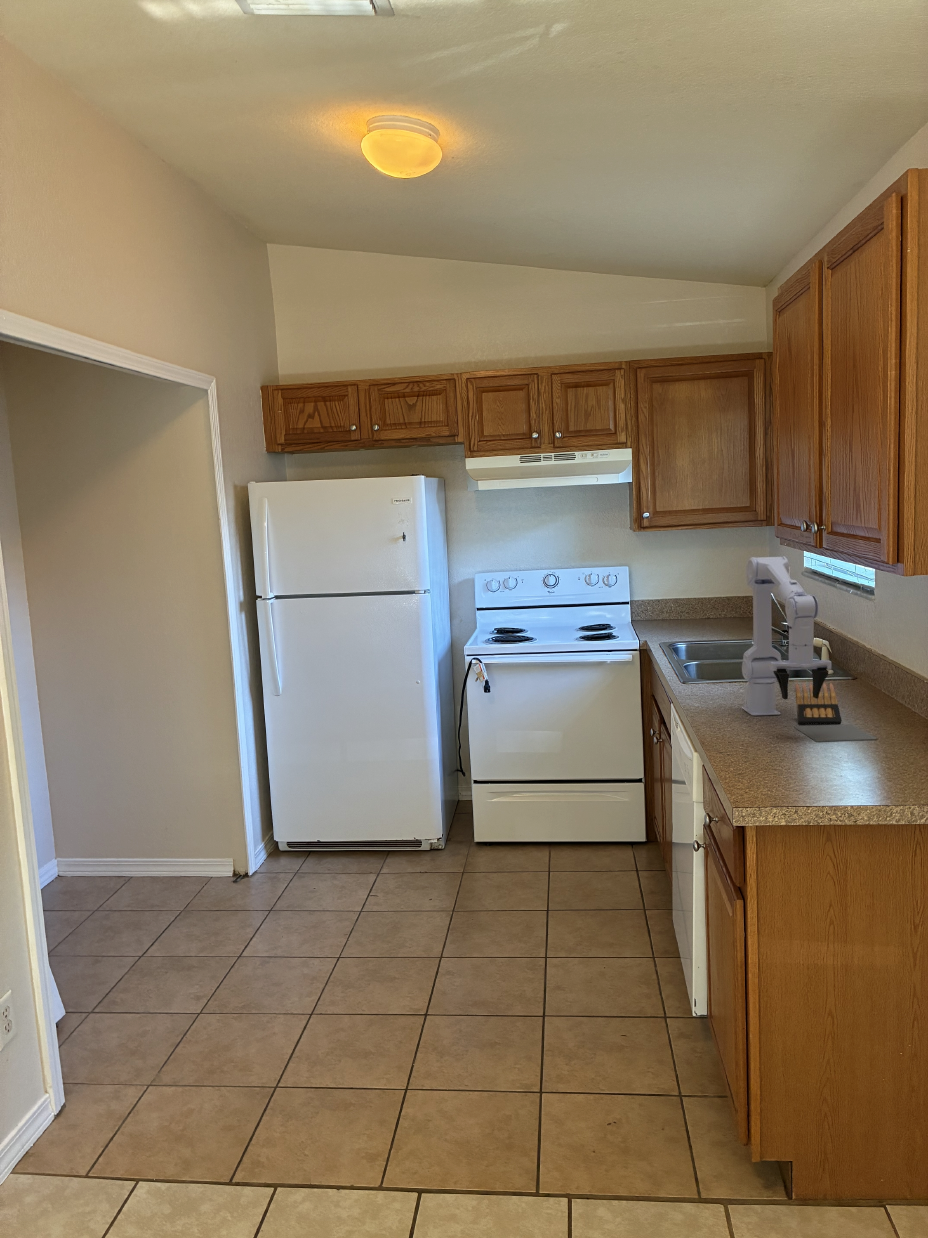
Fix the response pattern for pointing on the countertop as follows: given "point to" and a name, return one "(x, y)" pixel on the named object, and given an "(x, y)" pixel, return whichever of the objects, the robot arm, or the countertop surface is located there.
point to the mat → (834, 733)
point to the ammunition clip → (817, 706)
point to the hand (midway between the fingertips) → (800, 698)
